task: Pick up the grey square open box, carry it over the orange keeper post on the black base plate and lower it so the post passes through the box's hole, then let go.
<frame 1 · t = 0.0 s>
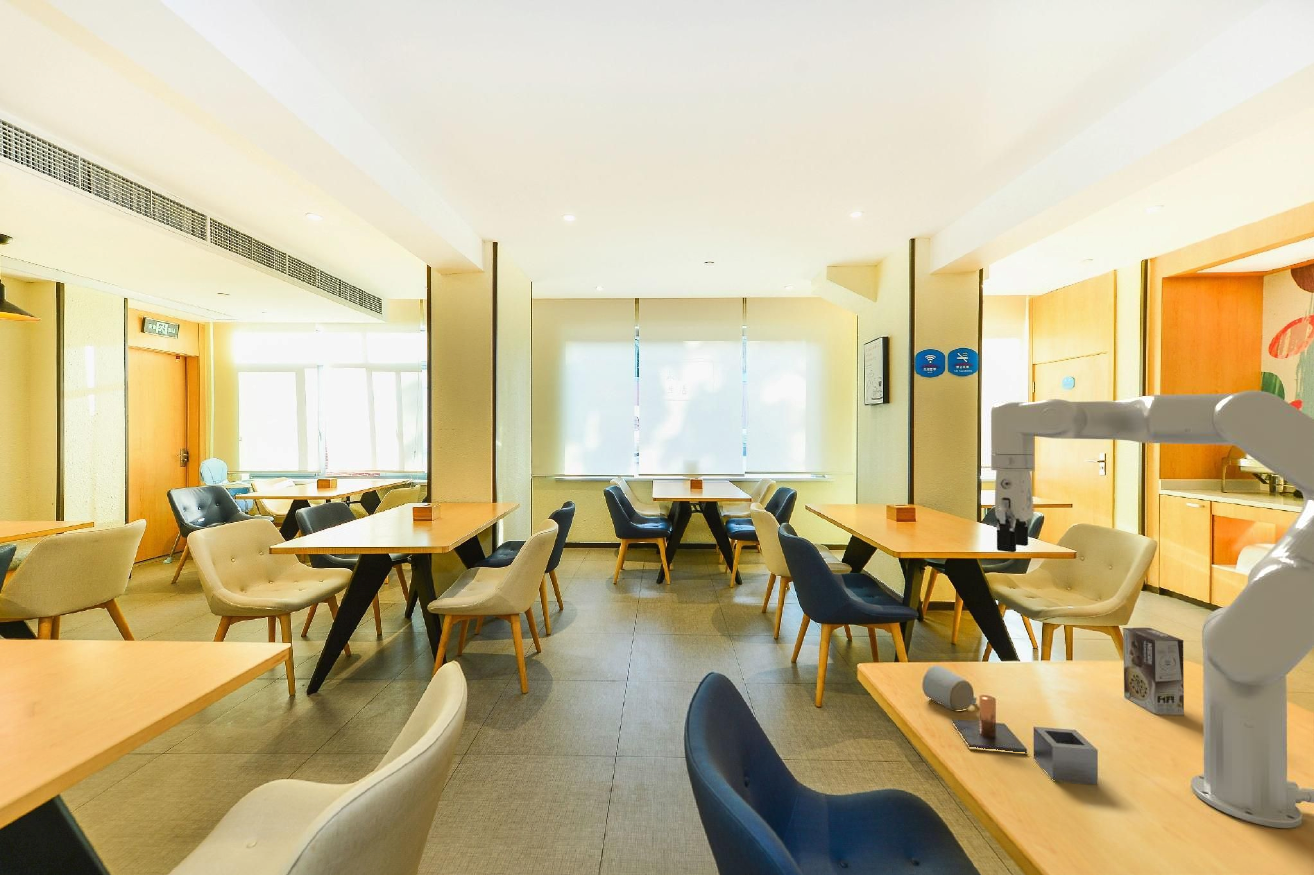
hand: (1012, 548, 117), 37 cm above the table, tool pointing down, fingers open, 9 cm apart
coffee box: (1152, 706, 129), on the table
grey square open box: (1064, 771, 103), on the table
ceramic mug: (951, 705, 129), on the table
keeper post: (987, 738, 114), on the table
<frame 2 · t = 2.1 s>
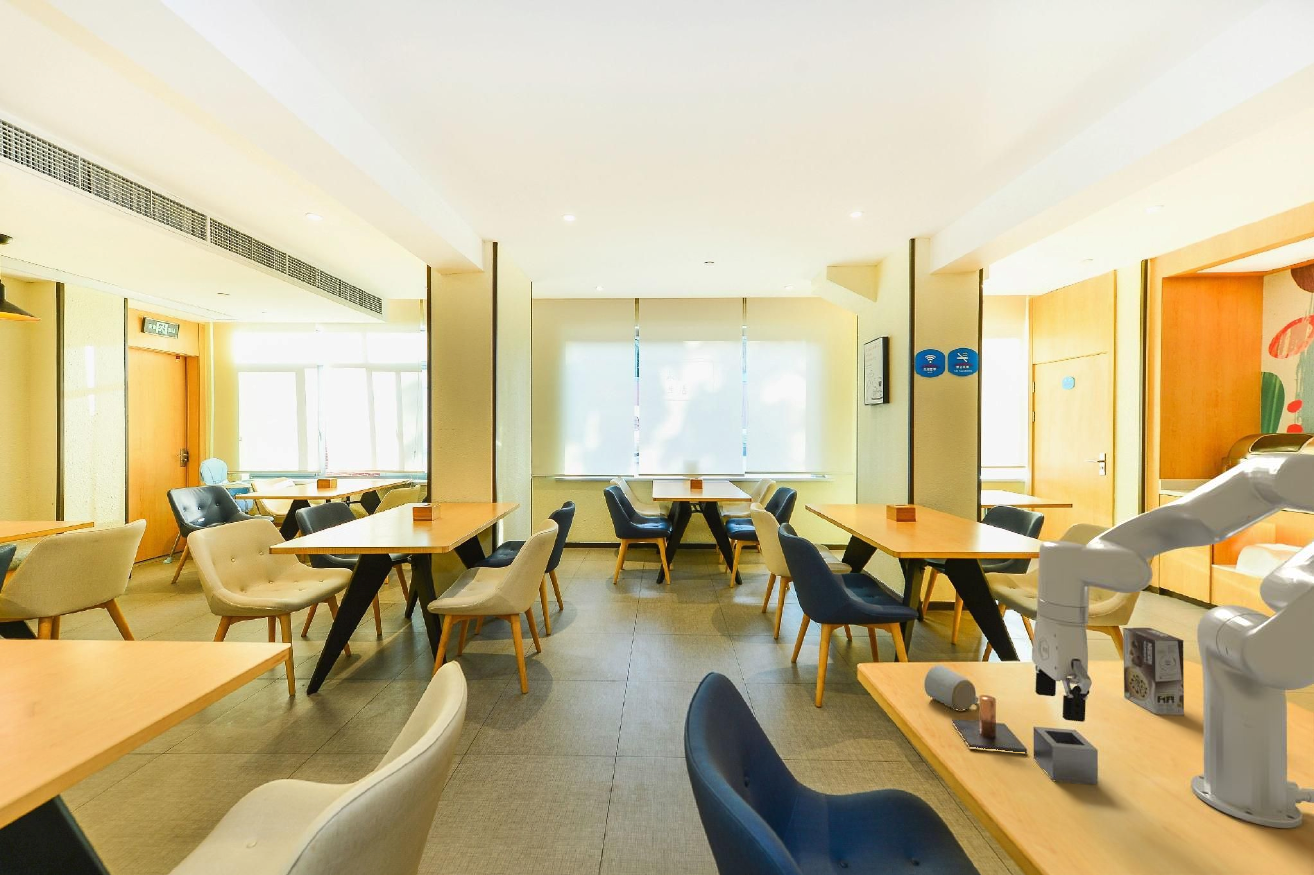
hand: (1058, 707, 103), 11 cm above the table, tool pointing down, fingers open, 9 cm apart
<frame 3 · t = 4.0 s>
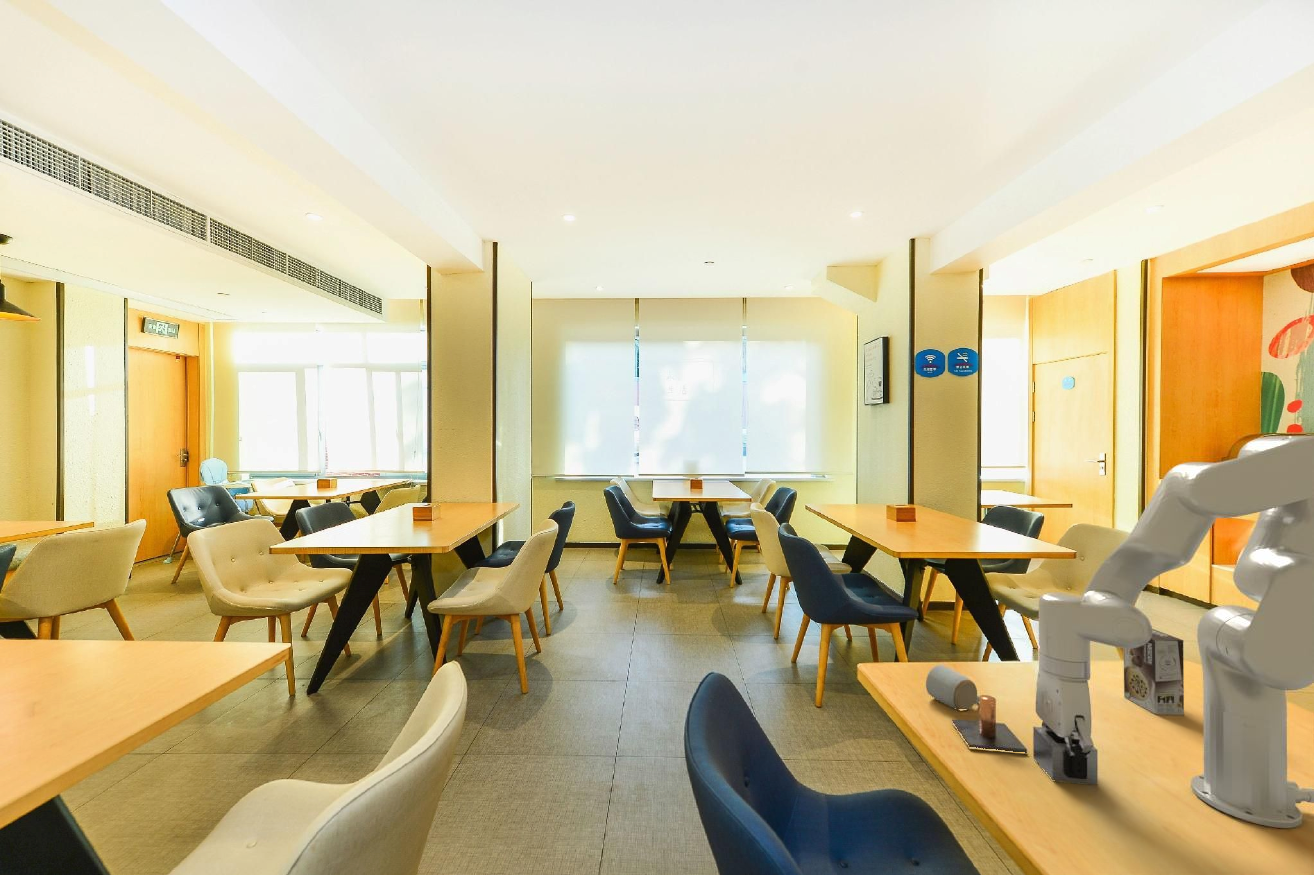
hand: (1064, 764, 103), 1 cm above the table, tool pointing down, fingers closed on grey square open box, 7 cm apart
grey square open box: (1064, 771, 103), on the table, touching gripper
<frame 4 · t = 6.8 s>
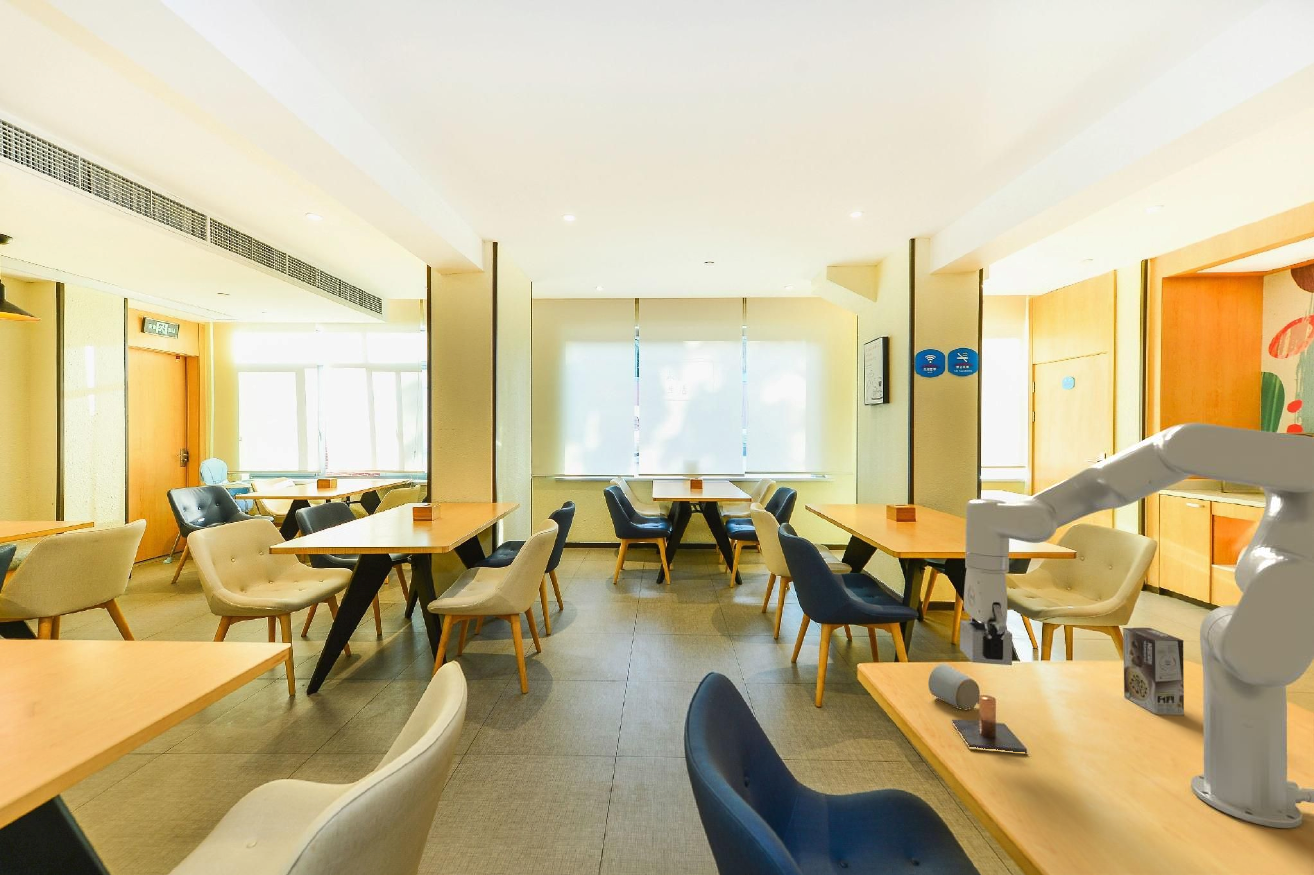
hand: (985, 650, 114), 17 cm above the table, tool pointing down, fingers closed on grey square open box, 7 cm apart
grey square open box: (985, 657, 114), point 16 cm above the table, touching gripper
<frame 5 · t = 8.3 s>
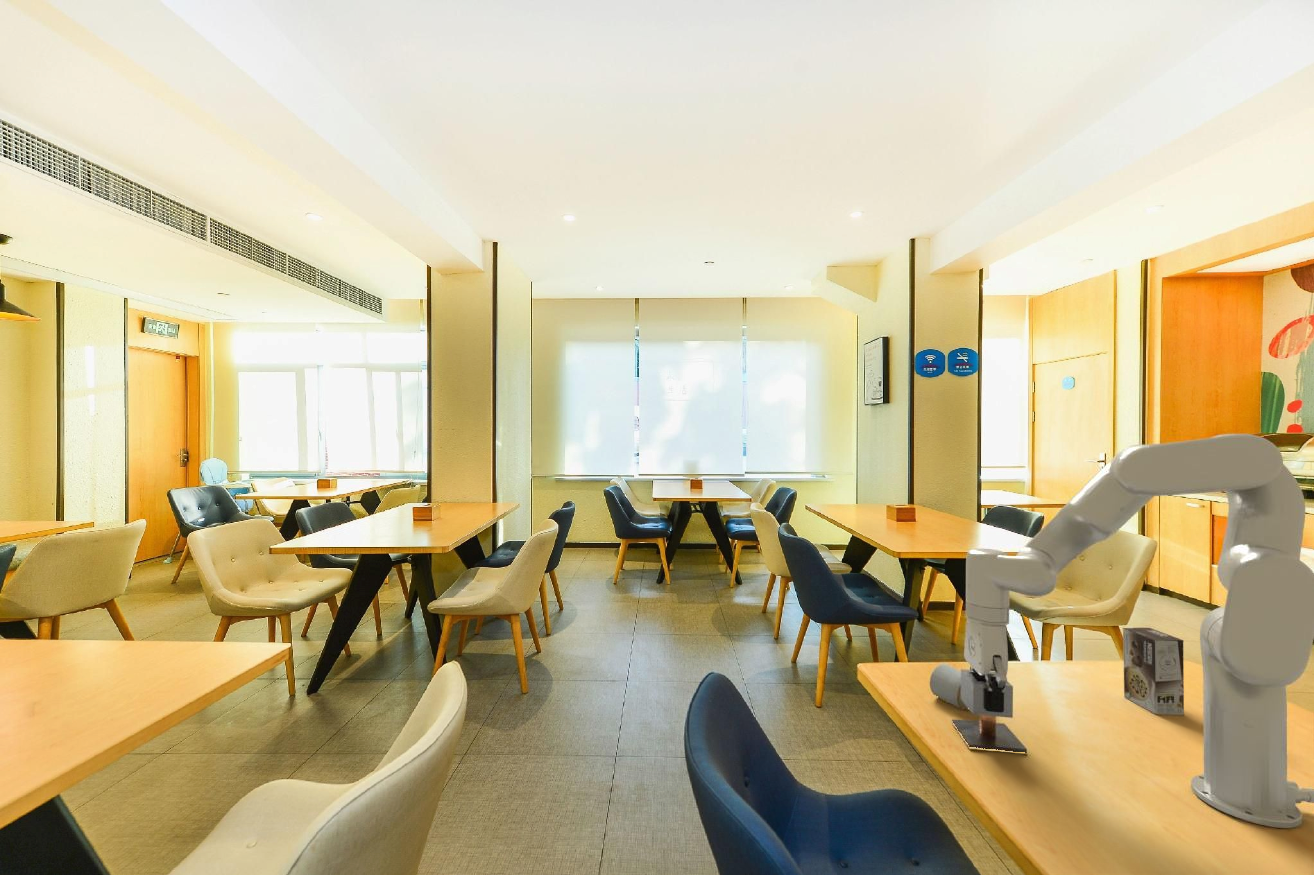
hand: (986, 701, 114), 7 cm above the table, tool pointing down, fingers closed on grey square open box, 7 cm apart
grey square open box: (985, 707, 114), point 6 cm above the table, touching gripper
when the fingers open (5 cm above the table, at t = 9.6 s): grey square open box drops 3 cm, resting on keeper post.
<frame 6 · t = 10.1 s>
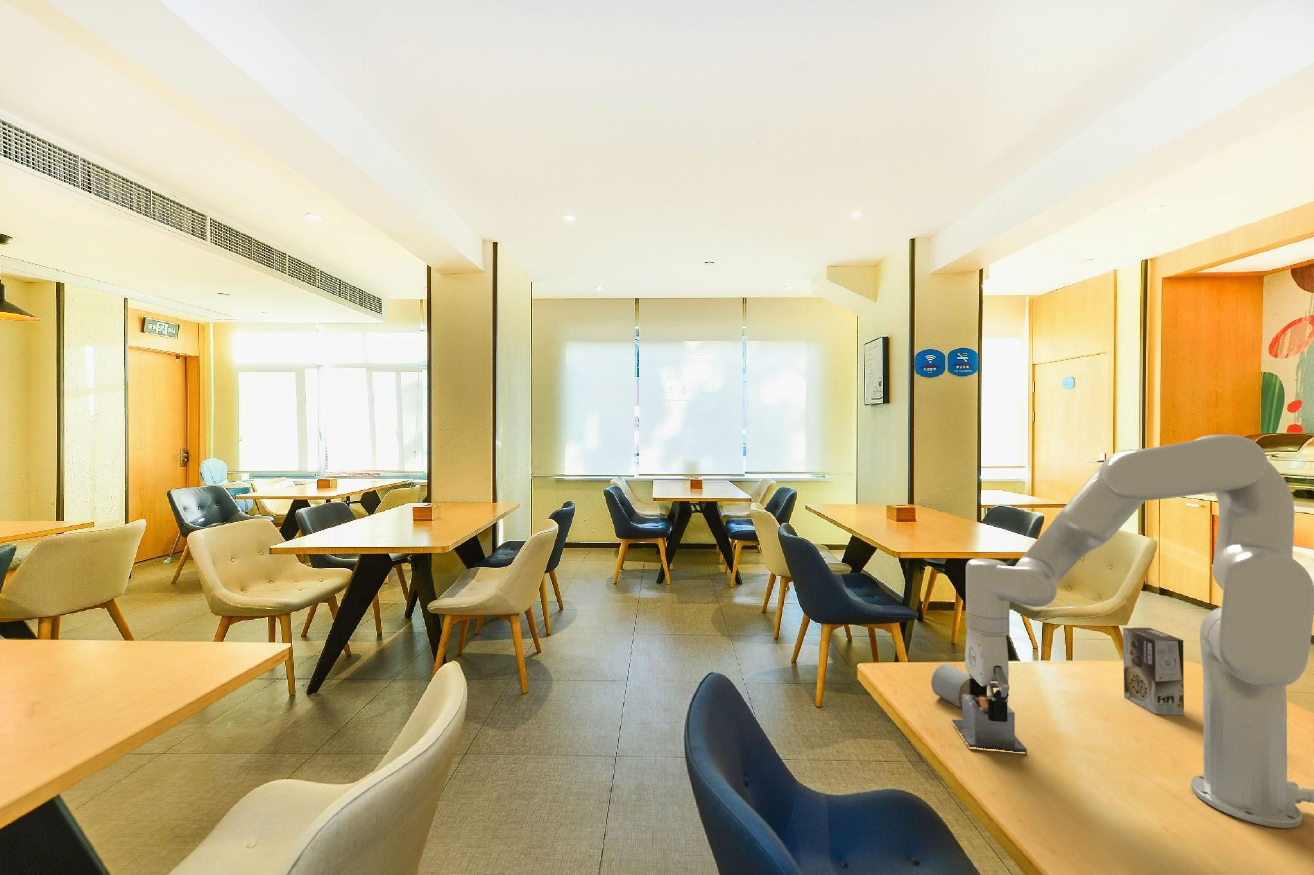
hand: (987, 709, 114), 6 cm above the table, tool pointing down, fingers open, 9 cm apart
grey square open box: (987, 733, 114), point 1 cm above the table, touching keeper post
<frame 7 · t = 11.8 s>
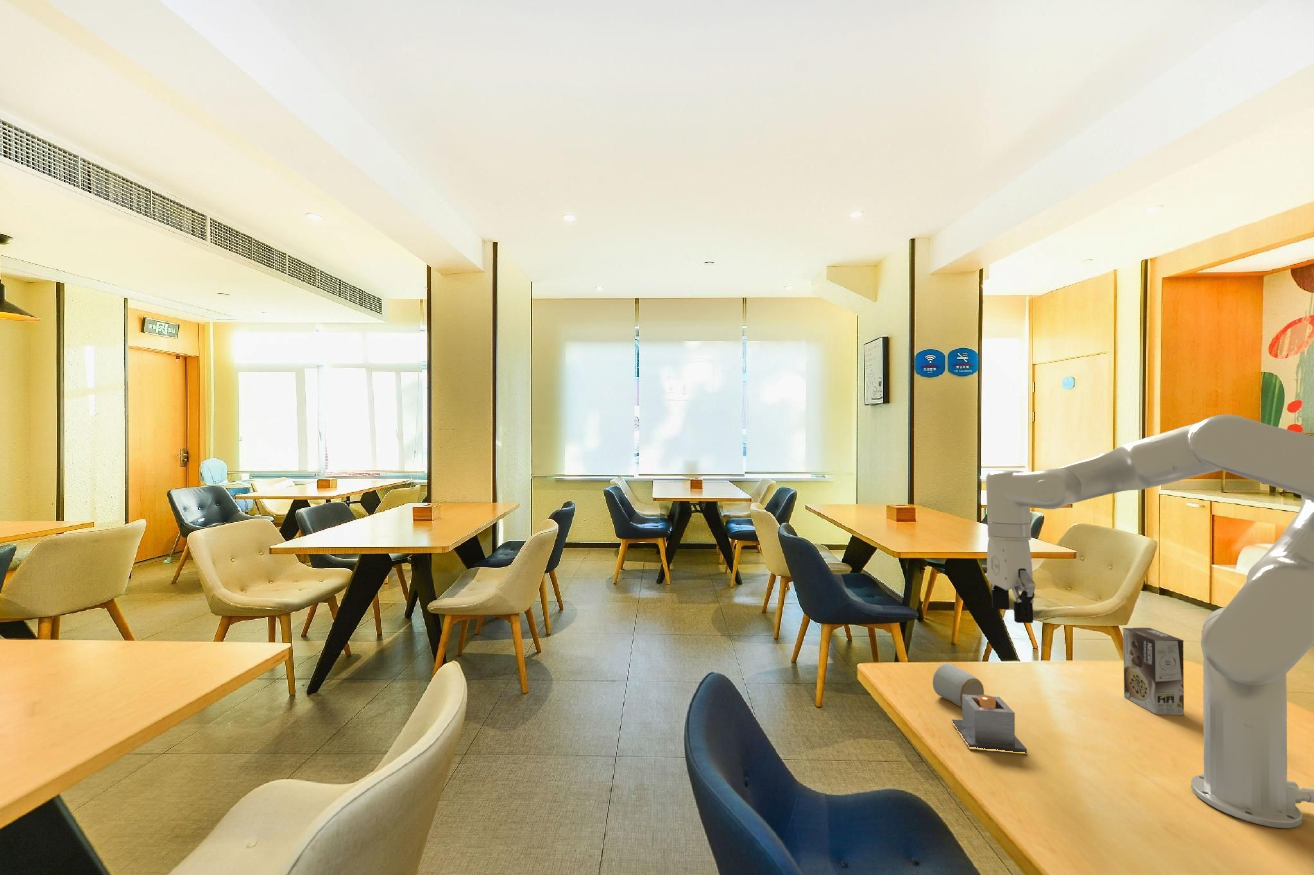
hand: (1011, 615, 117), 23 cm above the table, tool pointing down, fingers open, 9 cm apart
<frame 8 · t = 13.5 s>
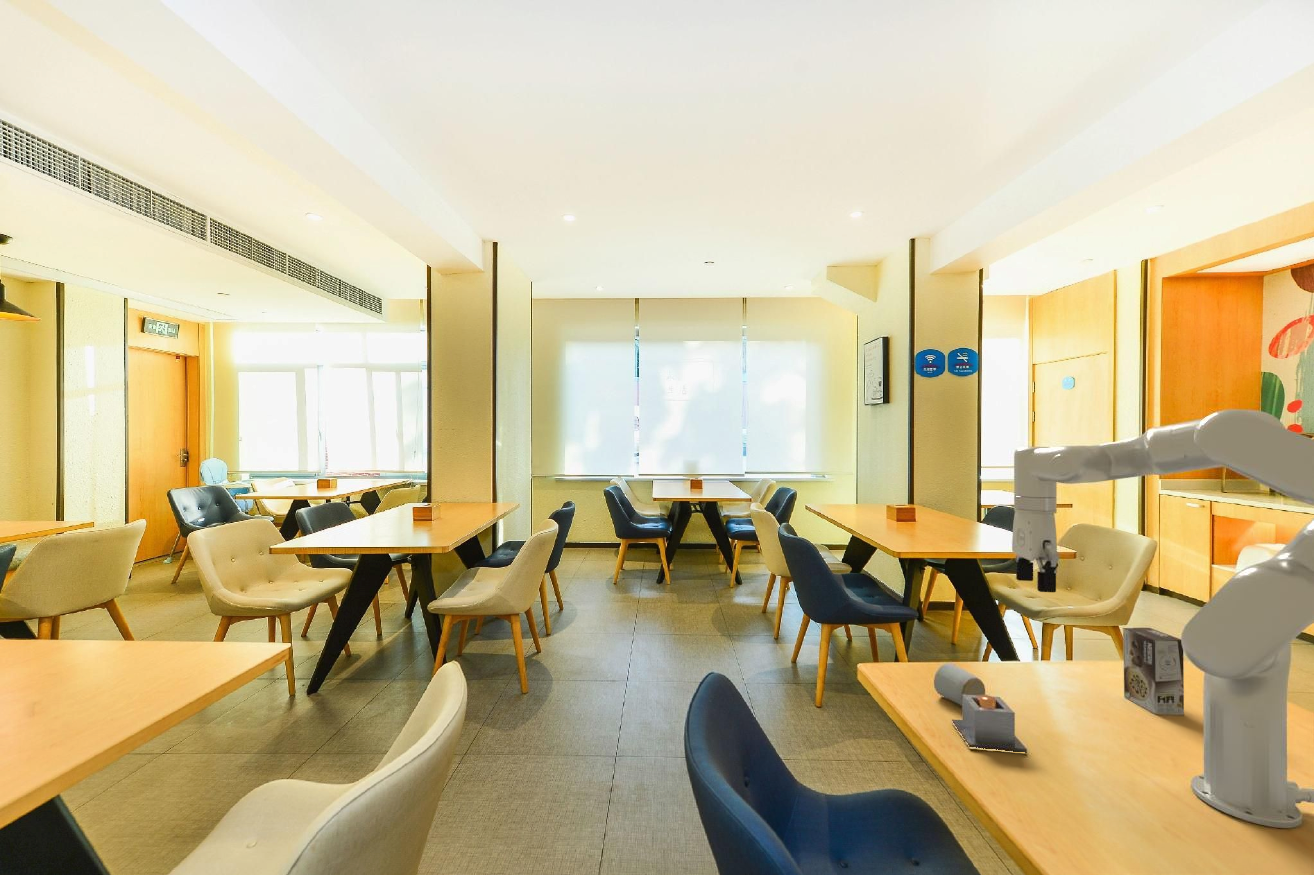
hand: (1035, 585, 122), 28 cm above the table, tool pointing down, fingers open, 9 cm apart
at the end: grey square open box 0.1 cm from the keeper post (horizontally); grey square open box point 1.0 cm above the table; the gripper is holding nothing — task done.
